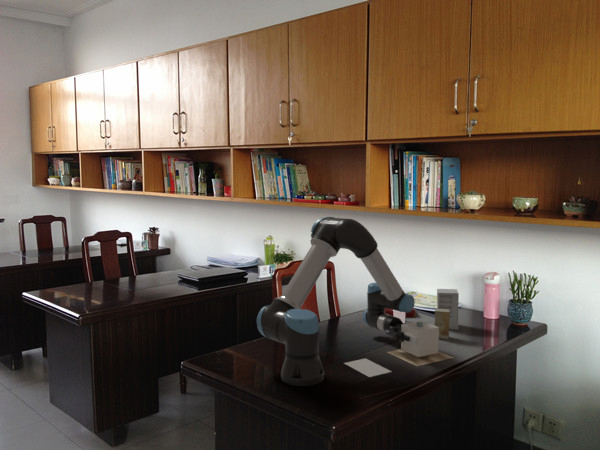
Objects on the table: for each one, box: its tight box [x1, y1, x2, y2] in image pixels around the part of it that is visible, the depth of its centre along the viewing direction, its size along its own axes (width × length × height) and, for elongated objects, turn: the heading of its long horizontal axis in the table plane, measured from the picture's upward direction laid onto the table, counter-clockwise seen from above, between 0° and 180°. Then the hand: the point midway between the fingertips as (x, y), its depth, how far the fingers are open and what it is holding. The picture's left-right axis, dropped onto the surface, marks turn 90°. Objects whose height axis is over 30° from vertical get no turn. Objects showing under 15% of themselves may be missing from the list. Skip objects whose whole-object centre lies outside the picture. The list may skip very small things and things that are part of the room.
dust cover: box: [400, 320, 439, 357], centre depth 208 cm, size 10×10×11 cm
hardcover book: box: [385, 307, 417, 318], centre depth 271 cm, size 12×21×4 cm, turn 91°
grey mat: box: [343, 358, 393, 378], centre depth 199 cm, size 16×16×1 cm
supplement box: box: [436, 288, 460, 330], centre depth 248 cm, size 10×9×17 cm
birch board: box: [386, 348, 454, 367], centre depth 209 cm, size 18×18×1 cm
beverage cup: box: [393, 310, 406, 324], centre depth 247 cm, size 6×6×14 cm
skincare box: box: [433, 308, 450, 340], centre depth 232 cm, size 6×4×12 cm
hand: (427, 338), depth 205 cm, fingers closed on dust cover, 10 cm apart
